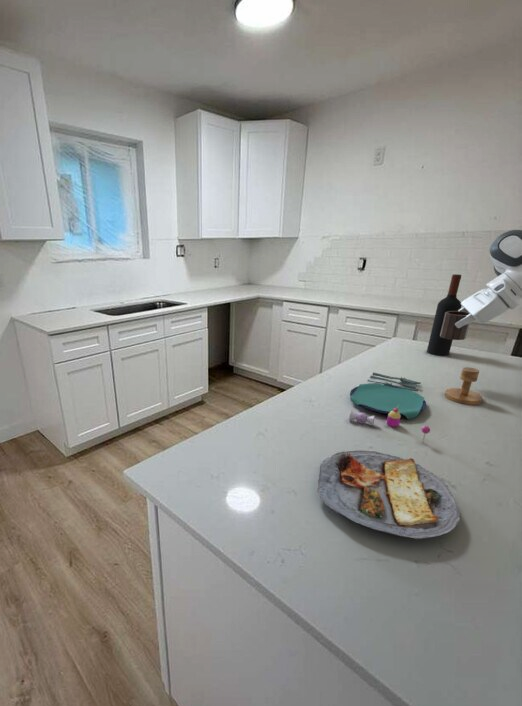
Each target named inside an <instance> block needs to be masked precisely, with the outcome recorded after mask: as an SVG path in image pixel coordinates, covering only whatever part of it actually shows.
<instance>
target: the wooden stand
mask: <svg viewBox="0 0 522 706" xmlns="http://www.w3.org/2000/svg"><path fill="white" fill-rule="evenodd" d="M479 374H480V370H479V369H477V368H474V367H471V366H470V367H469V366H465V367H462V368H461V372H460V376H459V379H460V380H462V384H461V387H451V388H447V389H446V390H445V393H444V397H445V398H446V399H448V400H449V401H452V402H454V403H458V404H462V405H468V406H469V405H470V406H471V405H472V406H473V405H480V404H481V403H482V401H483V396H482V395H481V394H480V393H478V392H476V391H473V390H470V389H471V386H472V383H476V382H477V381H478V377H479Z"/></svg>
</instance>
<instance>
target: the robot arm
mask: <svg viewBox="0 0 522 706" xmlns="http://www.w3.org/2000/svg"><path fill="white" fill-rule="evenodd" d="M489 258H490V260H491V263H492V265H493V271H494V274H495V275H496V276H497V277H495V278H493V279H492V280H490V281H488V282H487V283H486V284H485V286H486V288H482V289H480V290H478V291H477V292H475V293H473V294H471V295H469V296H468V297H467V298H465V299H463V301H460V302H461V305H462V306H461V309H460V310H459V311H462V312H468V313H470V314H469V315H467V316H466V317H465V318H463V319H461V320H458V321H457V322H455V323H454V324H455V326H456V327H457V328H461V327H462V326H464V325H466V324H469V323H470V324H472V323H473V322H475V321H476V322H477V323H478V324H480V325H482V324H485V323H488V322H490V321H491V320H493V319H496V318H497V317H499V316H501V315H502V314H505V313H506V312H508V310H514V309H516V308H517V307H519V306H520V305H521V301H522V229H511V230H508V231H505V232H503V233H501V234H500V235H498V236H496V238H495V239H494V240H493V241H492V242H491V244H490V245H489Z"/></svg>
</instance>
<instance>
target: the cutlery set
mask: <svg viewBox="0 0 522 706" xmlns="http://www.w3.org/2000/svg"><path fill="white" fill-rule="evenodd" d="M369 378H370V379H367V383H359V385H358V386H355V387H354V388H352V389H351V390H350V393H349V396H350V398H349V400H350V402H351V403H353V404H354V405H356V406H361V407H363V408H365V409H367V410H370V411H373V412H376V413H380V414H386V415H388V414H389V412H391V411H393V409H394V408H396V407H397V406H398V405H399V406H398V407H397V409H398V412H399V413H400V415H401V416H405V417H406V418H407V420H412V419H414V418H416V417H418V415H419V414H420V413H422V412H423V411H424V410H425V409H427V401H426V400H425V397H424V396H422V395H420V394H419V393H417V392H418V391H419V389H417V388H420V387H421V386H420V385H421V384H422V382H421V381H415V380H412V379H408V378H406V377H402V376H401V377H397V376H389V375H385V374H382V373H377V372H372V375H370V377H369ZM371 379H374V380H381V381H386V382H381V381H374V380H371ZM395 380H399V381H395ZM389 382H390V383H389ZM392 383H394V384H392Z"/></svg>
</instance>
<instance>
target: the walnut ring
mask: <svg viewBox="0 0 522 706" xmlns="http://www.w3.org/2000/svg"><path fill="white" fill-rule="evenodd" d="M469 314H470V313H468V312H462V311H447V312H445V316H444V320H443V324H442V329H441V333H440V337H442V338H446V339H452V340H453V341H464V340H466V339H467V335H468V331H469V329H470V325H471V323H469V324H466V325H464V326H462V327H461V328H457V327H456V326H455V324H454V323H455V322H457V321H458V320H461V319H463V318H465V317H466V316H467V315H469Z"/></svg>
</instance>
